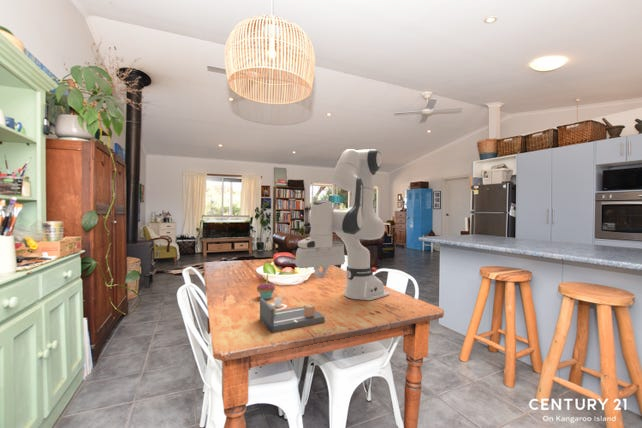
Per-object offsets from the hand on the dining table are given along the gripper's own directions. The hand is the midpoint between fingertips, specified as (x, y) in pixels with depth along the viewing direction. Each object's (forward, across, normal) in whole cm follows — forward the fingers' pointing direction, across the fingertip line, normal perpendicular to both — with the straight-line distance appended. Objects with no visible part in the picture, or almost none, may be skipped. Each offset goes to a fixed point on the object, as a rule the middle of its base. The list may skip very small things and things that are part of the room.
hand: (320, 277), depth 111 cm
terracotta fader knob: (+14, +5, 0) cm, 15 cm away
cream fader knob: (+14, +17, -8) cm, 24 cm away
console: (+16, +10, -4) cm, 20 cm away
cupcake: (+16, +11, -36) cm, 41 cm away
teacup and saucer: (+17, +12, -24) cm, 31 cm away
